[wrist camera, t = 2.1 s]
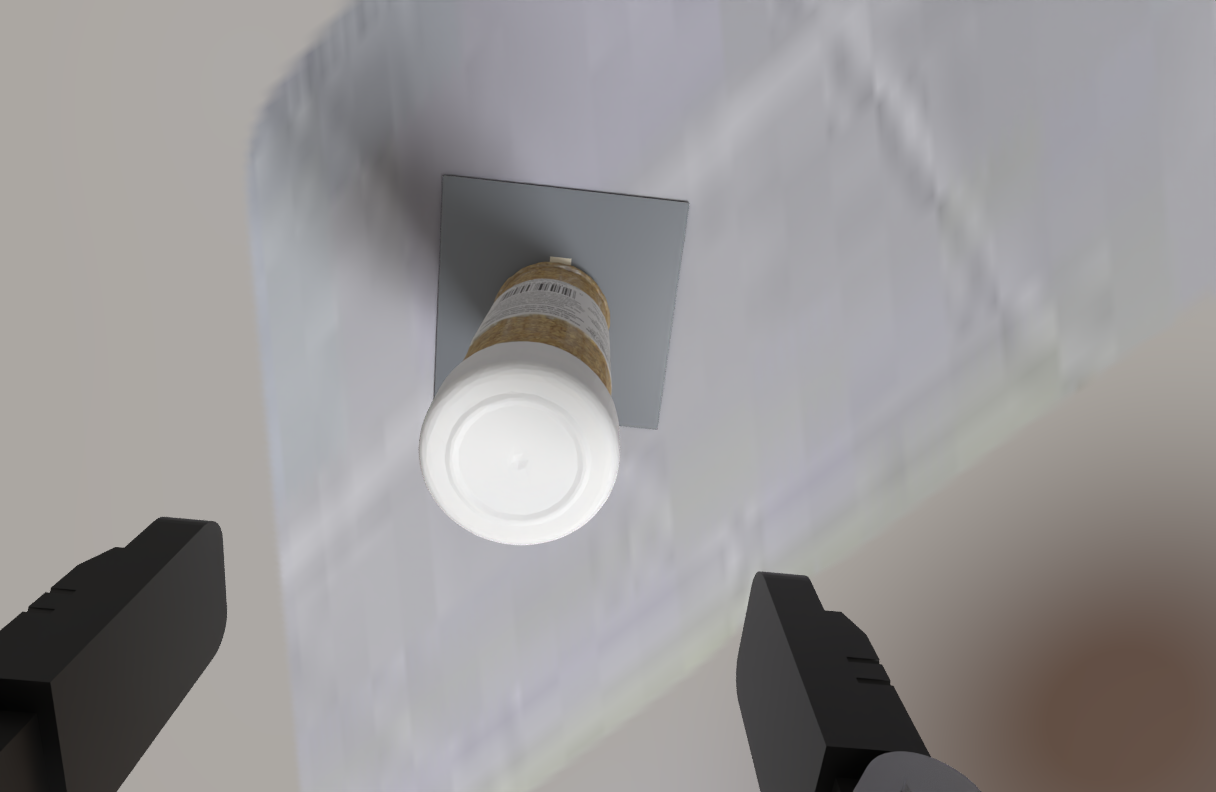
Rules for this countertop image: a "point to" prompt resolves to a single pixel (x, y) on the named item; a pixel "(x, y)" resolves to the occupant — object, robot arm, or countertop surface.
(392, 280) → the countertop surface
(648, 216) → the letter card
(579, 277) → the sprinkles bottle
